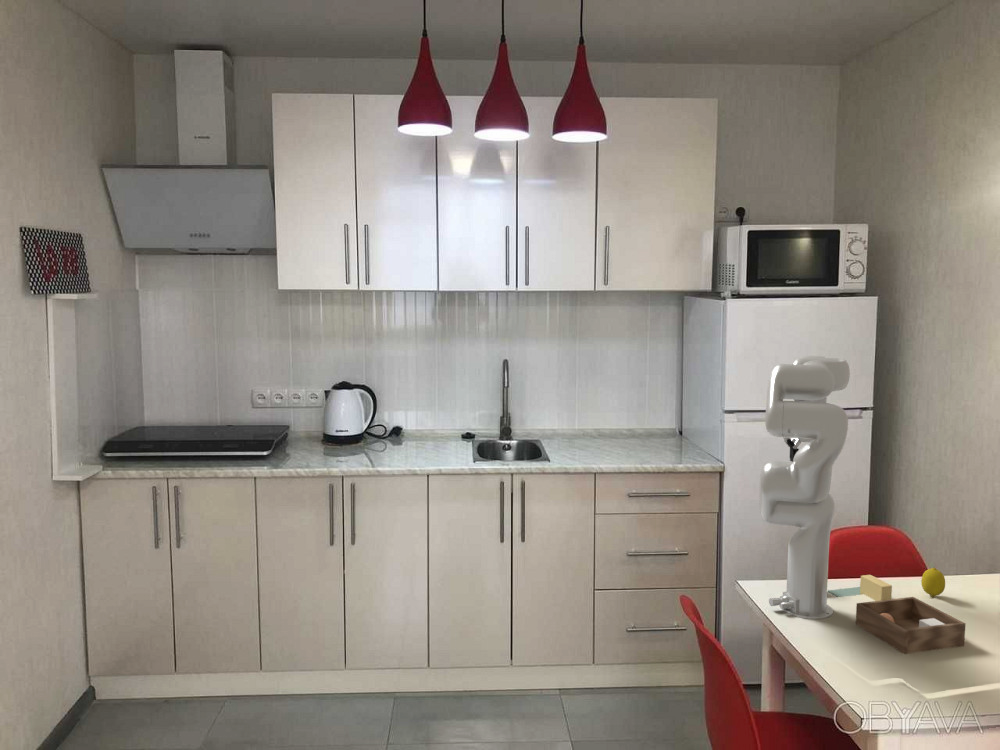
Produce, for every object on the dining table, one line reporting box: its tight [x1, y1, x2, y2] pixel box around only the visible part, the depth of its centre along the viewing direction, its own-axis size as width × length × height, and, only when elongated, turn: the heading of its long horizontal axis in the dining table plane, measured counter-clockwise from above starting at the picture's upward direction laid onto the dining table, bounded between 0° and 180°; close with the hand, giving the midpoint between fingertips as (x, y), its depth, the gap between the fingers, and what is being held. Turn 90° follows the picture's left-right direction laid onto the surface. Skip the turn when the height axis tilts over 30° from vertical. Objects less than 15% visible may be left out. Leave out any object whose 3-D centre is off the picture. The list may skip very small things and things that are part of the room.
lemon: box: [920, 567, 946, 598], centre depth 208 cm, size 6×6×8 cm
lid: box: [827, 574, 893, 601], centre depth 207 cm, size 16×16×6 cm
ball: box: [880, 613, 895, 623], centre depth 187 cm, size 4×4×4 cm
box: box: [855, 596, 966, 655], centre depth 184 cm, size 16×16×6 cm
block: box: [919, 618, 944, 628], centre depth 182 cm, size 4×4×4 cm
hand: (809, 460), depth 221 cm, fingers open, 9 cm apart
